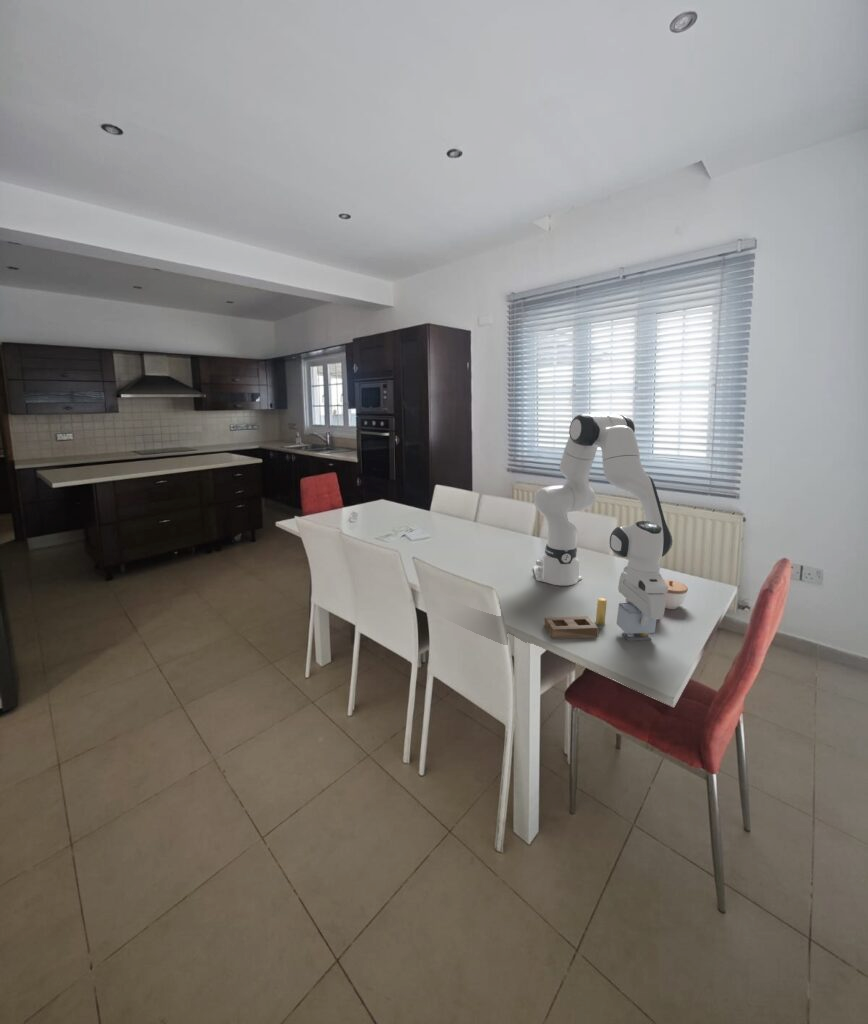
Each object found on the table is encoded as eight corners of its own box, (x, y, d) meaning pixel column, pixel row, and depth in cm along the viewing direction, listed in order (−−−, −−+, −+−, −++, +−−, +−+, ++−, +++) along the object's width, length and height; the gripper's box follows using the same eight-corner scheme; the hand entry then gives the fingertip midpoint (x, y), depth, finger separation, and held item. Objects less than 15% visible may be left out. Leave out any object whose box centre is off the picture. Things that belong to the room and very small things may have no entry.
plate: (622, 634, 141) (623, 623, 141) (644, 633, 142) (645, 622, 141) (628, 640, 138) (630, 629, 137) (651, 639, 138) (652, 628, 137)
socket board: (544, 626, 146) (544, 617, 146) (586, 624, 148) (587, 616, 147) (552, 638, 139) (553, 629, 138) (597, 636, 140) (598, 627, 139)
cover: (616, 623, 142) (619, 600, 140) (644, 622, 143) (647, 599, 141) (625, 633, 137) (629, 609, 135) (654, 632, 137) (658, 608, 135)
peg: (594, 620, 150) (596, 598, 148) (602, 620, 150) (604, 597, 149) (597, 624, 147) (600, 601, 146) (606, 624, 148) (608, 601, 146)
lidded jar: (666, 613, 156) (670, 587, 154) (644, 600, 166) (647, 576, 164) (692, 610, 159) (695, 584, 156) (669, 597, 169) (672, 573, 166)
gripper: (615, 563, 145) (611, 603, 149) (650, 590, 126) (644, 635, 129) (634, 563, 146) (629, 603, 149) (672, 590, 126) (665, 635, 130)
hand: (636, 618), depth 139 cm, fingers closed on cover, 6 cm apart
